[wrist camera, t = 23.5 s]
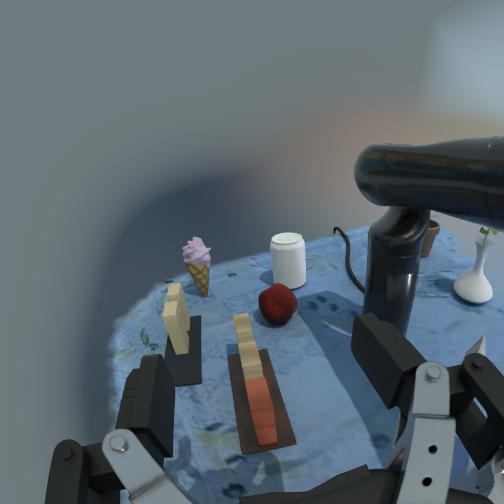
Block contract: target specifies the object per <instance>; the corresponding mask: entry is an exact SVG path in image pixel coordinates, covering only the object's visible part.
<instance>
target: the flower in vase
mask: <svg viewBox="0 0 504 504" xmlns="http://www.w3.org/2000/svg"><path fill="white" fill-rule="evenodd" d="M490 229H491V228H489V229H488V231H486V230H485V229H484V228H483V227H481V229H480V232H481V233H483V234H485V235H486V236H485V238H482V237H476V238H475V243H476V246H477V256H476V262H475V266H474V268H473V270H472V271H470V272H468V273H465V274H463V275H461V276H460V277H458V278H457V279H456V280H455V282H454V285H453V286H454V290H455V292H456V293H457V294H458V295H459V296H460V297H461V298H463V299H464V300H466V301H469V302H472V303H485V302H487V301H489V300H490V299H491V297H492V288H491V285H490V283H489V282H488V280H487V279H486V278H485V276H484V274H483V264H484V260H485V257H486V254H487V251H488V250H489V248H490V246H492V245H493V243H492V241H490V240H488V239H486V237H487V235H488V234H489V230H490ZM491 231H492V233H493V234H494V235H496V234H497V233H498V232H499V231H497V230H494V229H491Z"/></svg>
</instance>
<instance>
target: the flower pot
mask: <svg viewBox="0 0 504 504" xmlns="http://www.w3.org/2000/svg"><path fill="white" fill-rule="evenodd" d="M439 230H440V225H439V223H437V222H436V221H434V220H431V219H430V220H429V227H428V231H427V233H426V235H425V237H424V239H423V242H422V249H421V257H426V256H428V255H429V252H430V250H431V248H432V245H433V242H434V240H435V237H436V235H438V234H439Z"/></svg>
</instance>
